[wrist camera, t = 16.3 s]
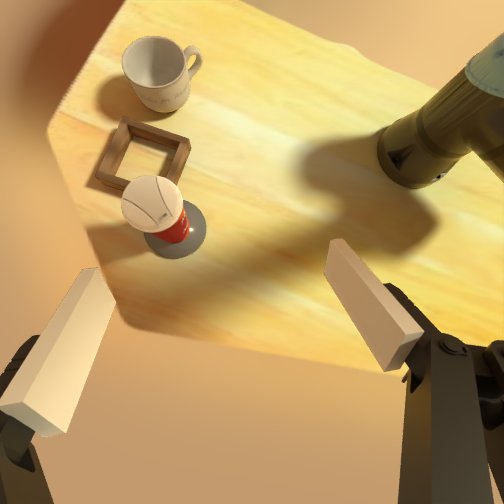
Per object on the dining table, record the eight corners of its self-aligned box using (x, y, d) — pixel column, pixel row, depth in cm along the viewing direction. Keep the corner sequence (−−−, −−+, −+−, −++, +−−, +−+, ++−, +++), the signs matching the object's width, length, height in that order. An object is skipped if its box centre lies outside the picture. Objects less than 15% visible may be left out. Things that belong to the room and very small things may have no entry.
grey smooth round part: (158, 192, 45) (157, 191, 44) (214, 211, 45) (214, 210, 45) (135, 247, 43) (134, 246, 42) (194, 266, 43) (194, 265, 43)
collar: (129, 127, 46) (123, 116, 43) (191, 148, 47) (188, 138, 44) (103, 184, 44) (94, 176, 41) (168, 205, 44) (164, 199, 42)
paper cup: (204, 232, 44) (193, 206, 30) (169, 258, 42) (140, 242, 29) (178, 200, 44) (156, 159, 30) (143, 224, 43) (103, 192, 29)
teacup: (146, 126, 47) (129, 93, 39) (132, 79, 48) (113, 37, 40) (214, 111, 49) (212, 76, 41) (199, 66, 50) (194, 24, 42)
